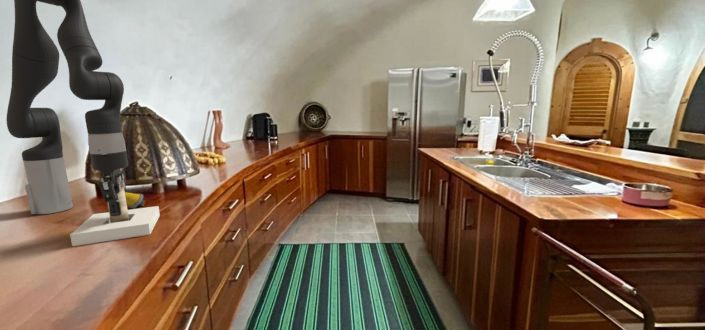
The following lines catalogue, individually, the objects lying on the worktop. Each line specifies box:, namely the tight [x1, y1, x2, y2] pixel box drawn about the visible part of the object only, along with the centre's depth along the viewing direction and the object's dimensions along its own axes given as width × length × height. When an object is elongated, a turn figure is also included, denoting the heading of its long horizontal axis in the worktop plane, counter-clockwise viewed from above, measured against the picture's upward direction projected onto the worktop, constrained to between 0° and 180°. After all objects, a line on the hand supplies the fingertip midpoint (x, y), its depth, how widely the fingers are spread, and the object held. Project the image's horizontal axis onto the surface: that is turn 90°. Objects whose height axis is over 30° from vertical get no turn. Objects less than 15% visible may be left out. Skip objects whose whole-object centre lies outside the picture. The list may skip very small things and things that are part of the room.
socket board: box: [69, 205, 161, 247], centre depth 84 cm, size 16×16×3 cm
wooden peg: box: [107, 187, 129, 223], centre depth 84 cm, size 4×4×10 cm
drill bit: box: [125, 191, 146, 210], centre depth 102 cm, size 5×5×10 cm
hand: (118, 212), depth 84 cm, fingers closed on wooden peg, 4 cm apart
